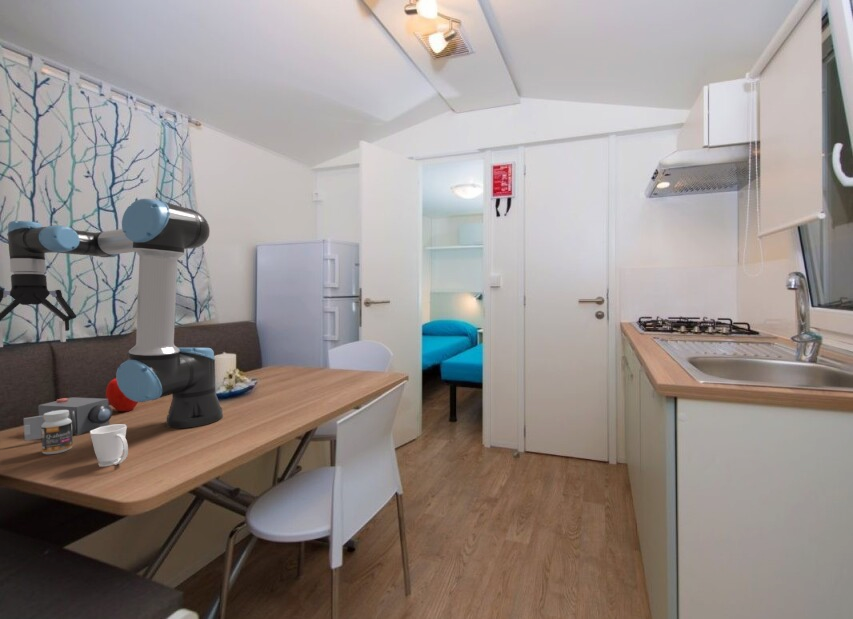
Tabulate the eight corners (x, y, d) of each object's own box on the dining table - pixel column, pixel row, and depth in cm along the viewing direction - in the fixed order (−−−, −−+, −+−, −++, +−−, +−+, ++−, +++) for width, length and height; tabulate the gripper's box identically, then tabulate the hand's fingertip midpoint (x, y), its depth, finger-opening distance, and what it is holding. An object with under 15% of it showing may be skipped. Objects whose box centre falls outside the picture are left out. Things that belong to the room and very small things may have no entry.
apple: (98, 414, 132) (96, 378, 131) (126, 406, 141) (125, 372, 141) (122, 415, 130) (120, 379, 129) (149, 407, 139) (148, 373, 139)
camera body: (116, 425, 120) (115, 396, 119) (84, 435, 111) (83, 405, 110) (73, 422, 123) (71, 395, 123) (38, 432, 114) (37, 403, 114)
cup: (117, 454, 96) (116, 422, 96) (143, 460, 92) (141, 427, 92) (83, 466, 90) (81, 431, 90) (109, 473, 86) (107, 437, 86)
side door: (75, 432, 111) (74, 410, 111) (75, 433, 110) (74, 411, 110) (25, 440, 105) (24, 417, 105) (24, 442, 104) (23, 418, 104)
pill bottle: (46, 457, 96) (44, 416, 96) (39, 452, 99) (37, 413, 99) (76, 449, 101) (74, 410, 100) (68, 445, 104) (66, 407, 103)
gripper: (78, 275, 130) (82, 339, 131) (-37, 273, 110) (-32, 348, 111) (85, 274, 126) (89, 340, 127) (-33, 271, 106) (-28, 350, 106)
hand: (33, 344), depth 119 cm, fingers open, 13 cm apart
